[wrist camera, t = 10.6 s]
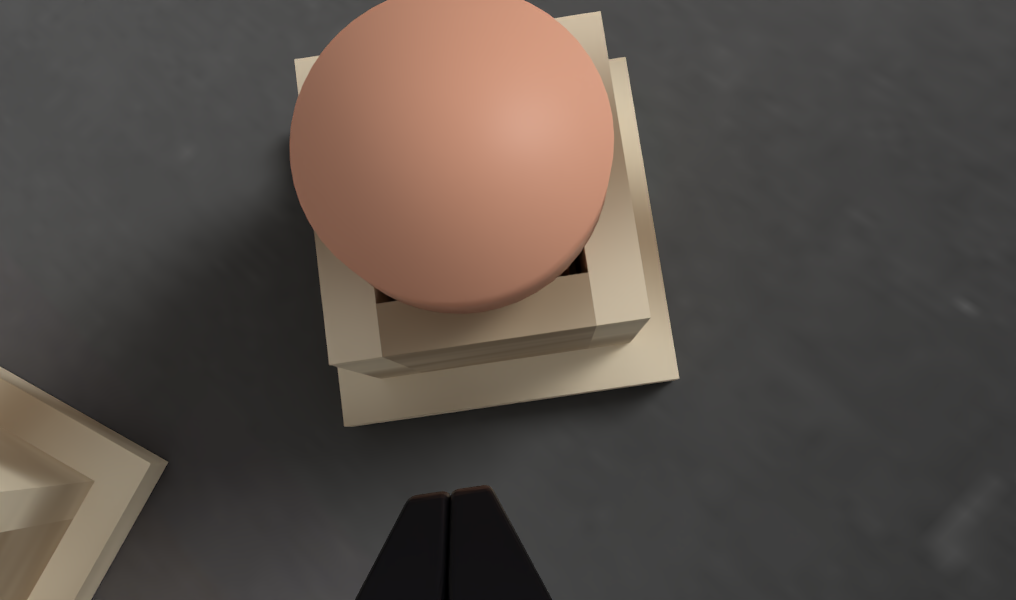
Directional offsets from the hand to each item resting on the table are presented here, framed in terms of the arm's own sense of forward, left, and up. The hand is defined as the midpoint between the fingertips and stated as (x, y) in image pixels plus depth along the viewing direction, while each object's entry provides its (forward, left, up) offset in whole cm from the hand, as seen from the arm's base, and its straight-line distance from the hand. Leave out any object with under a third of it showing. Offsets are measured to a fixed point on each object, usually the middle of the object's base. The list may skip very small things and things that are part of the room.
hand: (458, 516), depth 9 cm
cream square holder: (+1, -5, -13) cm, 14 cm away
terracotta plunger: (+1, -5, -11) cm, 12 cm away
